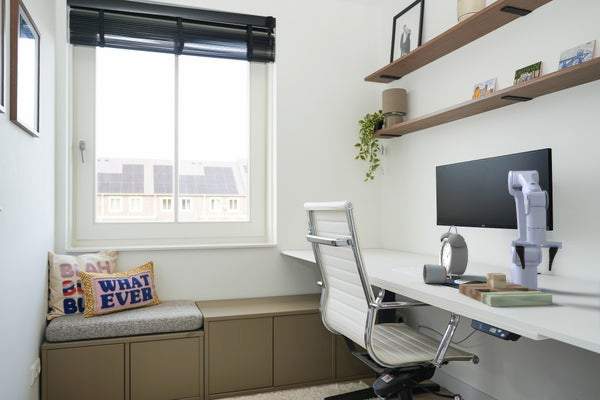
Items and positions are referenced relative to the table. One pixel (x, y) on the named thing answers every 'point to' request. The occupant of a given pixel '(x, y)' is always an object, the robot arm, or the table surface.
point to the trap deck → (505, 295)
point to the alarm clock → (453, 253)
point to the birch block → (496, 280)
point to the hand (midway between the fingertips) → (536, 269)
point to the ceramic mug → (434, 274)
